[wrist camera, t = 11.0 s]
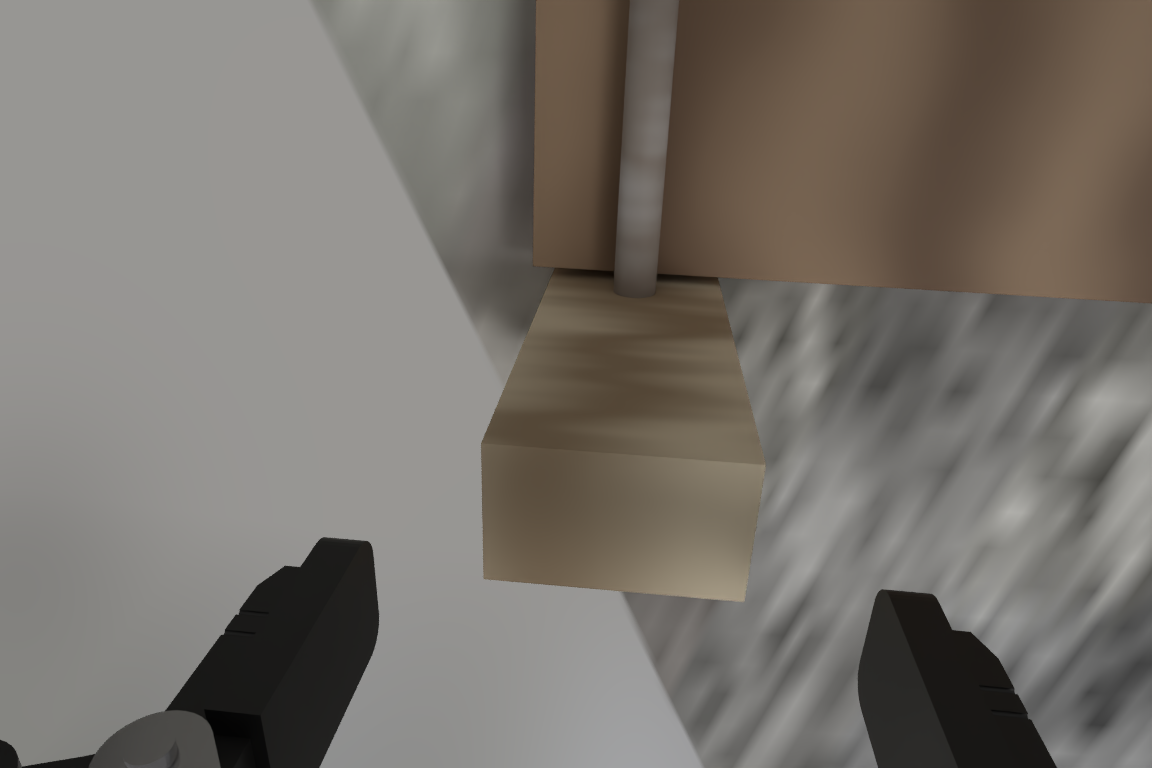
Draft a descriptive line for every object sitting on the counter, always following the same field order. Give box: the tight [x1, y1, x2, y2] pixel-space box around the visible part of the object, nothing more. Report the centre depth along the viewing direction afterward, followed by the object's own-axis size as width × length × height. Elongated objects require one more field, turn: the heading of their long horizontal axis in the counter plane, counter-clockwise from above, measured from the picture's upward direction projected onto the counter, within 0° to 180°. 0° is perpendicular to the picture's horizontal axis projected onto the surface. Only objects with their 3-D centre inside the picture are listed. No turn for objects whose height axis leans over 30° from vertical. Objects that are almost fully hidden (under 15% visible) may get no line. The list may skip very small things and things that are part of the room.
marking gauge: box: [481, 0, 766, 602], centre depth 18 cm, size 5×13×12 cm, turn 178°
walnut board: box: [533, 0, 1152, 303], centre depth 21 cm, size 24×12×2 cm, turn 88°
